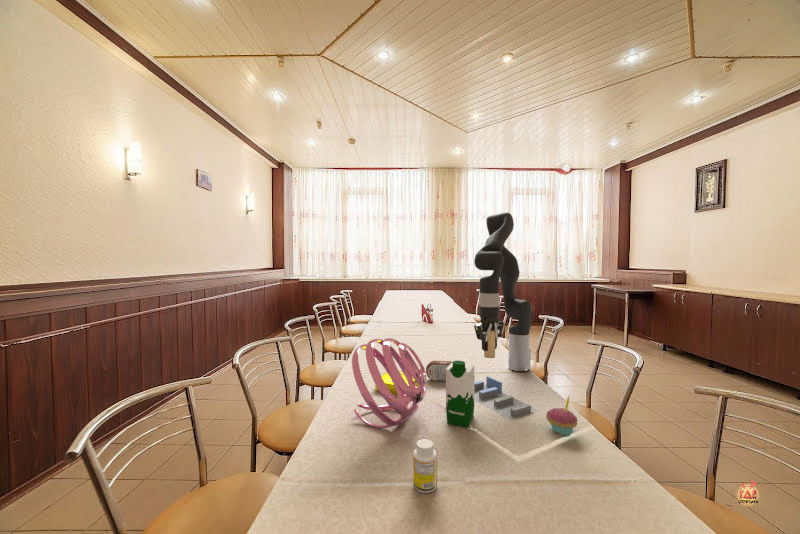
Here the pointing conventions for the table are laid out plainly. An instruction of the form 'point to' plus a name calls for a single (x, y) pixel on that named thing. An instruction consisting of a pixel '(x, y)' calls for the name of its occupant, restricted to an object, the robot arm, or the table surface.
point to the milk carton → (460, 393)
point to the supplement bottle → (425, 466)
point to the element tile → (390, 383)
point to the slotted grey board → (499, 399)
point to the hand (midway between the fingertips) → (489, 349)
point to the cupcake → (562, 419)
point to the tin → (437, 370)
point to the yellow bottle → (490, 345)
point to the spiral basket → (403, 389)
